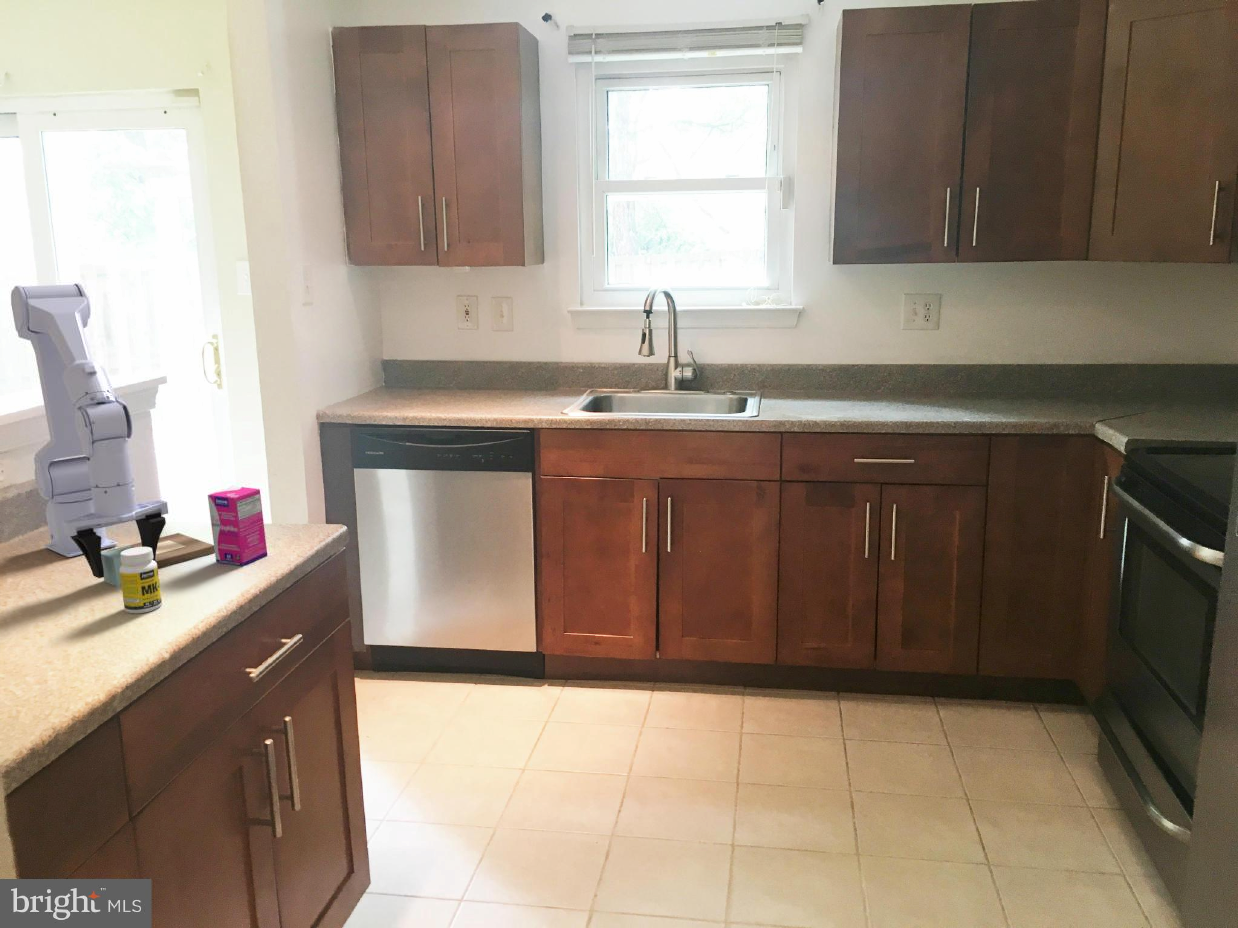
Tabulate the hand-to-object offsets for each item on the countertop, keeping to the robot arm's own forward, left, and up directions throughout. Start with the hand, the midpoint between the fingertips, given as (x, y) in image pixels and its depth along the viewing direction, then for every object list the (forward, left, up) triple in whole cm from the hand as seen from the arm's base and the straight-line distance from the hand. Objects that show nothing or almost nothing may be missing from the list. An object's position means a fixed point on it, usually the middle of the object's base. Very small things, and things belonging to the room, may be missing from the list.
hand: (124, 569), depth 143 cm
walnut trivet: (-7, +9, -2) cm, 12 cm away
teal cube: (0, 0, -2) cm, 2 cm away
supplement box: (+6, +16, -2) cm, 17 cm away
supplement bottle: (+14, -4, -2) cm, 15 cm away
